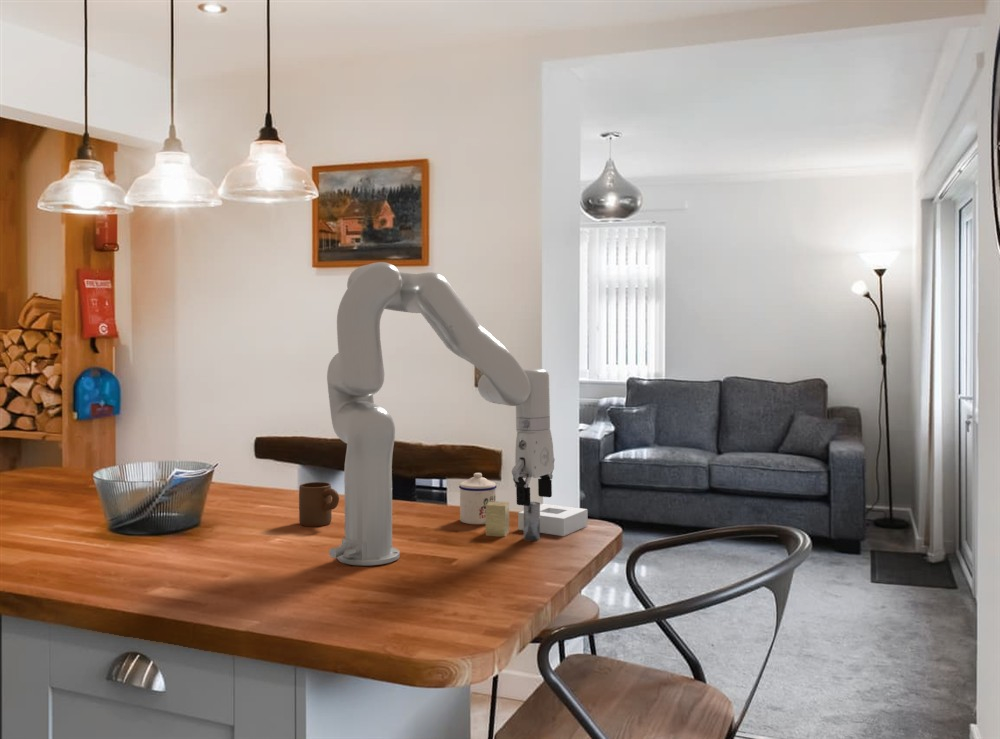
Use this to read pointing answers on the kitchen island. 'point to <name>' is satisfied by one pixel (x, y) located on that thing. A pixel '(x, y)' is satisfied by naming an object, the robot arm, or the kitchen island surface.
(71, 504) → the kitchen island surface
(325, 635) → the kitchen island surface
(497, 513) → the square bit
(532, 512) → the round bit
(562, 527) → the block
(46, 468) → the kitchen island surface
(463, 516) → the teacup with lid
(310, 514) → the mug
